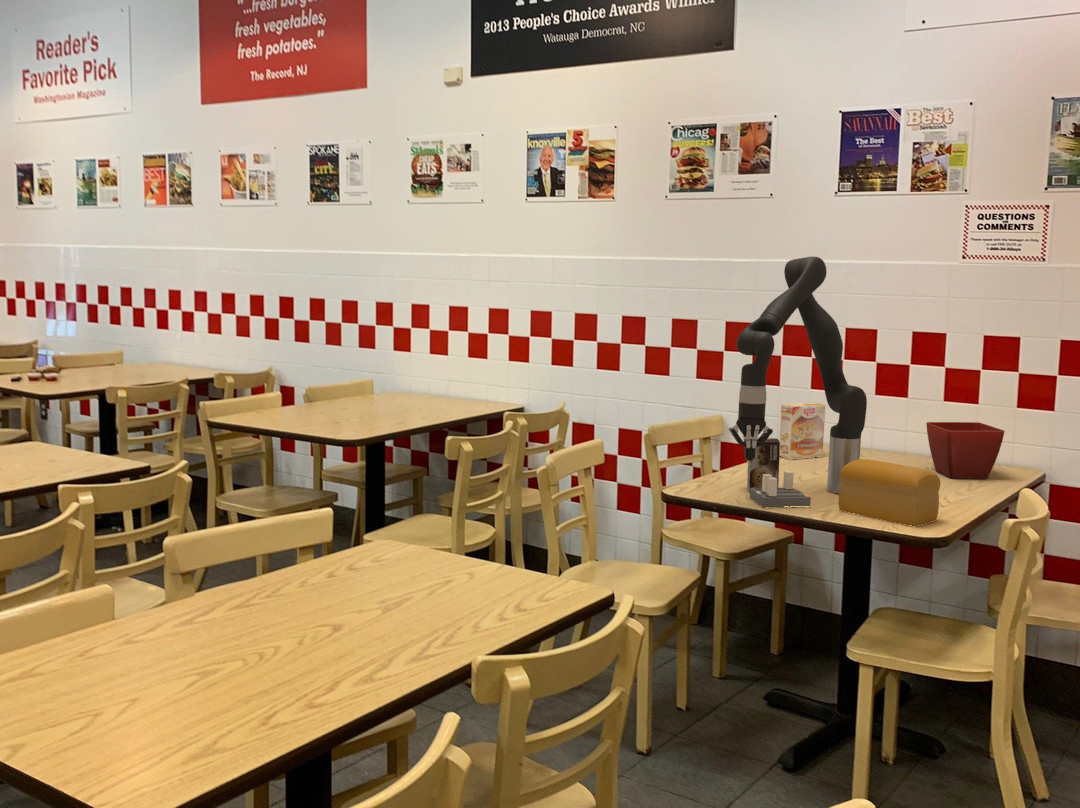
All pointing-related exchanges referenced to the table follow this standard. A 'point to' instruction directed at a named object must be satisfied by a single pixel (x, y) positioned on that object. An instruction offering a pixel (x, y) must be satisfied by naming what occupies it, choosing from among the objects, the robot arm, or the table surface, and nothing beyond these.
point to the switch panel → (780, 498)
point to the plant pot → (964, 448)
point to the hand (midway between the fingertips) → (749, 460)
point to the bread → (889, 492)
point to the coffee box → (764, 463)
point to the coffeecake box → (802, 430)
